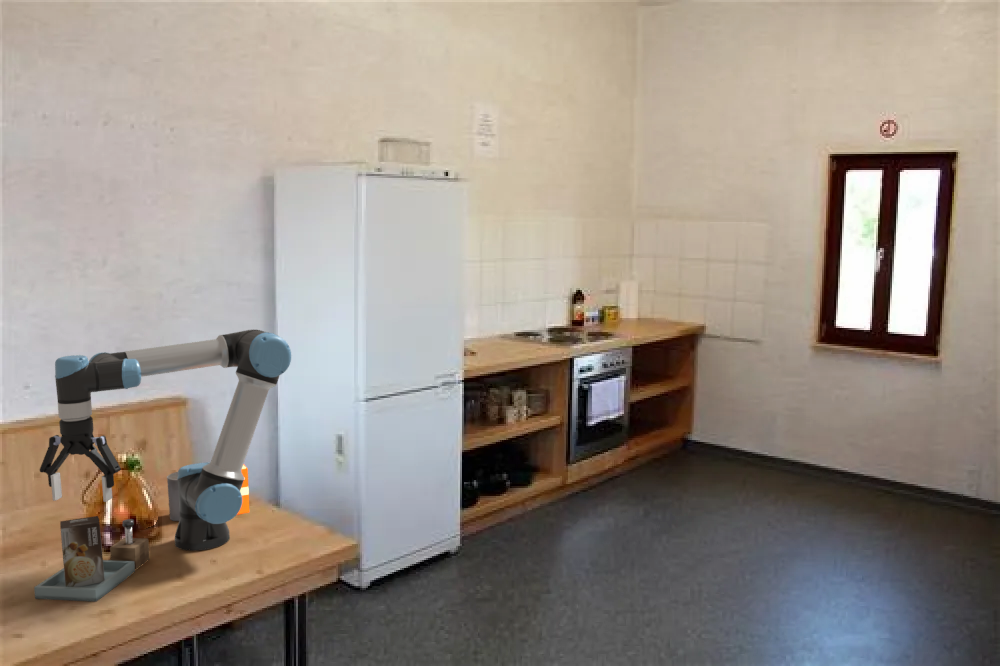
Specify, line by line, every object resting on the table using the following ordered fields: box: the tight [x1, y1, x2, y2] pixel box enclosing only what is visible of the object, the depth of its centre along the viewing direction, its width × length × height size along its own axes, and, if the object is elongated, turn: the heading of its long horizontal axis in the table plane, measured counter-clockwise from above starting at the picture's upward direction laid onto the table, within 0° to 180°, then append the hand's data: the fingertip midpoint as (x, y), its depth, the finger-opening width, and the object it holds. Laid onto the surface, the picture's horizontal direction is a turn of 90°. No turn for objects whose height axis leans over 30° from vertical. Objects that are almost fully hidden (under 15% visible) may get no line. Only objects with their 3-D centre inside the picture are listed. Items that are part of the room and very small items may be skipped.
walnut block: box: [109, 537, 150, 570], centre depth 232 cm, size 7×7×6 cm
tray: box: [33, 559, 136, 602], centre depth 218 cm, size 16×18×3 cm
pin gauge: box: [122, 518, 135, 545], centre depth 231 cm, size 3×3×12 cm
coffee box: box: [59, 515, 105, 587], centre depth 218 cm, size 9×6×16 cm
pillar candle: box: [166, 471, 180, 522], centre depth 269 cm, size 10×10×15 cm
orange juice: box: [236, 463, 250, 516], centre depth 274 cm, size 8×9×20 cm
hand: (82, 499), depth 216 cm, fingers open, 13 cm apart
